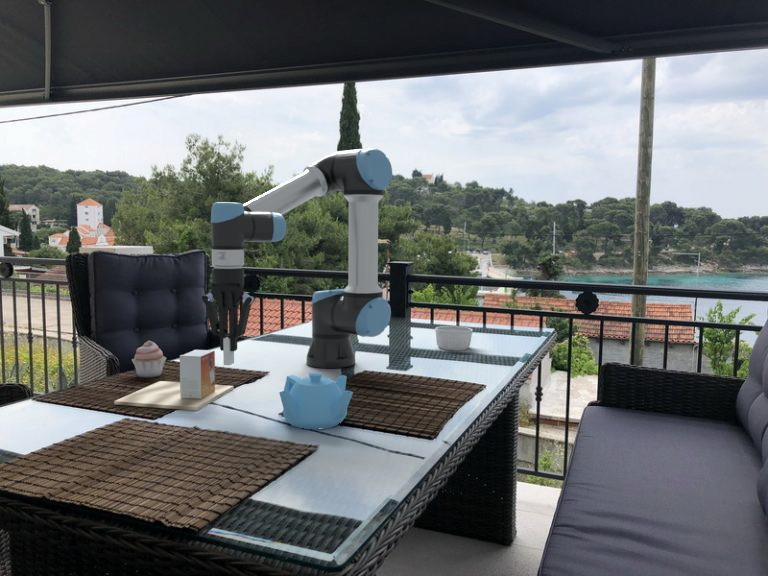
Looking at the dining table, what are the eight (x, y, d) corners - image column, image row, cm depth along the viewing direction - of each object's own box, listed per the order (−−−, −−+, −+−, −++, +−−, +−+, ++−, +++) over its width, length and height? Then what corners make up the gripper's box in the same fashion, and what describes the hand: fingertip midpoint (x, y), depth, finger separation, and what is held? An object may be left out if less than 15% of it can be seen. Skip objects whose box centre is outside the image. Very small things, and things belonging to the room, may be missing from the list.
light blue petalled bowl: (349, 410, 148) (349, 365, 147) (352, 431, 133) (353, 381, 132) (283, 412, 146) (282, 366, 145) (279, 433, 131) (279, 382, 130)
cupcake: (129, 380, 173) (128, 344, 172) (133, 372, 182) (132, 338, 181) (165, 378, 175) (165, 342, 174) (168, 370, 184) (167, 337, 183)
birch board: (233, 388, 165) (233, 385, 165) (196, 410, 146) (196, 407, 146) (160, 383, 169) (160, 380, 169) (114, 404, 150) (114, 401, 150)
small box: (201, 399, 152) (200, 356, 151) (179, 398, 153) (178, 355, 152) (215, 391, 160) (215, 350, 158) (195, 389, 161) (194, 349, 160)
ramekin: (471, 345, 231) (472, 326, 231) (472, 352, 218) (473, 332, 218) (435, 343, 233) (435, 325, 232) (434, 350, 220) (434, 331, 219)
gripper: (195, 267, 149) (196, 365, 151) (247, 268, 147) (247, 369, 149) (210, 265, 156) (211, 359, 159) (259, 266, 154) (260, 362, 156)
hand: (228, 363), depth 154 cm, fingers closed
